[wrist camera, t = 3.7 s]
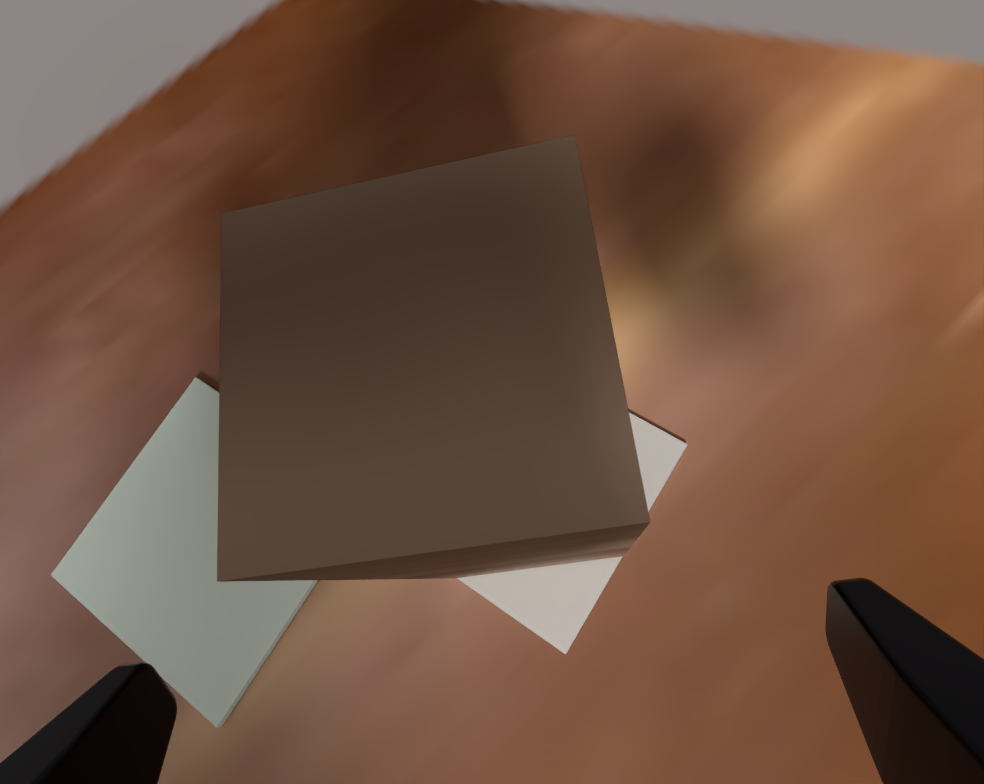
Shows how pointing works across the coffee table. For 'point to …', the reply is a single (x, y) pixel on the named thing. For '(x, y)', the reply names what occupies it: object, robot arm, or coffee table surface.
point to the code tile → (575, 586)
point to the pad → (178, 567)
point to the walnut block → (422, 379)
